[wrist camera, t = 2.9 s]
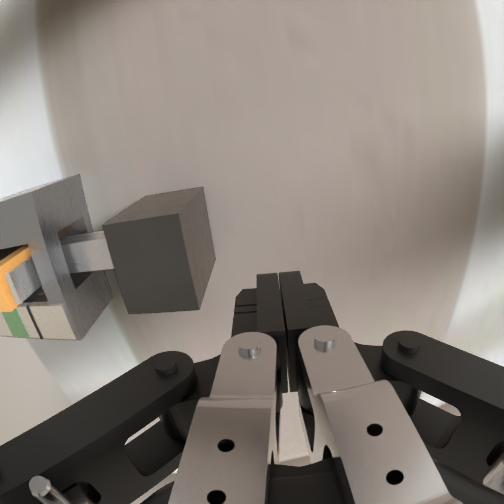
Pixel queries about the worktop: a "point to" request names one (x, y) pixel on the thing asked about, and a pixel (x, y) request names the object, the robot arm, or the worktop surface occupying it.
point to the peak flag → (3, 297)
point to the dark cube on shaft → (142, 254)
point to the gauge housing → (51, 262)
